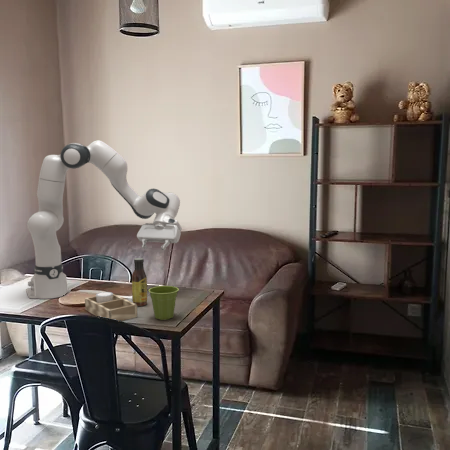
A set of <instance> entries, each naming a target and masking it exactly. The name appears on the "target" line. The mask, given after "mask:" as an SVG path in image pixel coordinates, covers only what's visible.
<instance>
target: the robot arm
mask: <svg viewBox="0 0 450 450" xmlns="http://www.w3.org/2000/svg"><path fill="white" fill-rule="evenodd" d="M88 163H89V164H93V165H94V166H95V167H96V168H97V169H99V170H100V171H101V172H102V173H103V174H104V176H106V178H107V179H108V180H109V183H110V184H111V186H112V187H113V188H114V190H116V192H117V193H118V194H119V195H120V196H121V197H122V198H123V199H124V201H126V203H127V204H128V205H129V206H130V208H131V210H132V212H133V213H134V214H135V216H137V217H138V218H140V219H142V220H147V219H149V218H151V217H152V216H153V215H154V214H156V215H155V217H154V219H153V222H151V223H150V222H149V223H144V224H142V225H141V227H140V228H139V230H138V232H137V234H136V238H137V240H138V241H139V242H142V245H141V248H142V249H143V250H147V248H148V245H147V243H148V242H149V243H163V244H161V246H160V250H161V251H165V250H166V249H167V248H168V246H169V245H170V244H177V243H178V242H180V238H181V231H182V226H181V224H180V222H179V221H178V220H177V219H175V218H176V217H177V215H178V212H179V209H180V205H181V200H180V198H179V196H178V195H177V194H176V193H174V192H164V191H161V190H159V189H157V188H150V189H148V190H147V191H145V192H144V194H143V195H141V196H140V195H139V194H138V193H137V191H135V190H134V188H132V186H130V184H129V183H128V181H127V176H128V175H127V173H128V163H127V161H126V160H125V158H124V157H123V155H121V154H120V153H119V152H118V151H116V150H115V149H114V148H113V147H112V146H110V145H109V144H107V143H106V142H104V141H103V140H99V139H97V140H94V141H92V142H91V143H89V144H88V145H87V146H85V145H84V144H82V143H79V142H71V143H69V144H66V145H65V146H63V147H62V149H61V151H60V154H48V155H46V156H45V157H44V158H43V160H42V164H41V167H40V171H39V177H38V183H37V191H36V197H37V200H38V201H37V202H38V211H37V212H35V213H33V214H32V215H31V216H30V217H29V219H28V221H27V222H26V223H27V224H26V227H27V230H28V232H29V233H30V235H31V239H32V244H33V246H34V247H33V249H34V256H35V257H34V258H35V265H34V275H32V277H31V278H30V281H27V287H28V288H26V289H25V292H26V294H27V296H29V297H28V298H29V299H40V300H41V299H42V300H43V299H44V300H45V299H48V300H49V299H56V298H60V297H63V295H64V296H66V295H67V294H68V293H71V288H70V287H68V280H67V275H66V274H65V273H64V272H63V271H64V266H63V263H62V249H61V245H60V243H59V240H58V237H57V231H59V230H60V229H61V228H62V226H63V225H64V221H65V219H64V206H63V205H64V203H63V201H64V191H65V185H66V178H67V172H68V171H69V169H71V170H73V169H80V168H83V166H85V165H86V164H88ZM67 292H68V293H67ZM66 293H67V294H66ZM65 294H66V295H65Z"/></svg>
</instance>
